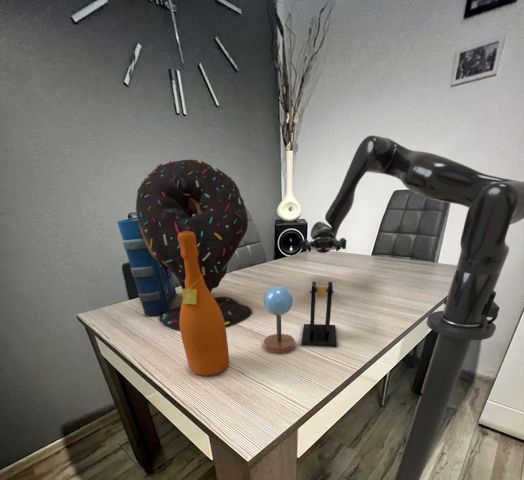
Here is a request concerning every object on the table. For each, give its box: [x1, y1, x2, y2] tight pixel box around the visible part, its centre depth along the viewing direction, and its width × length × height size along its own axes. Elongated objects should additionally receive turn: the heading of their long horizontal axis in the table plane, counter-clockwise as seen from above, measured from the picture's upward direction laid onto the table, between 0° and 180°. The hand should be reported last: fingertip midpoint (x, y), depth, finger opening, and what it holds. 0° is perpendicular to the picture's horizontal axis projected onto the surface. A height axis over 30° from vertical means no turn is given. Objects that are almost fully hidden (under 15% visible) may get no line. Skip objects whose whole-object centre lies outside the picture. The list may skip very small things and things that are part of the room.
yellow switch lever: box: [316, 285, 328, 297], centre depth 75 cm, size 14×6×2 cm, turn 169°
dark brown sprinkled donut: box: [135, 158, 252, 331], centre depth 85 cm, size 30×32×45 cm
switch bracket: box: [300, 281, 338, 348], centre depth 72 cm, size 11×9×15 cm
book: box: [116, 216, 177, 317], centre depth 98 cm, size 24×9×30 cm, turn 5°
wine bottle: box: [178, 231, 230, 377], centre depth 58 cm, size 10×10×30 cm
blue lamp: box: [263, 285, 296, 355], centre depth 68 cm, size 8×8×16 cm
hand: (323, 247), depth 85 cm, fingers open, 8 cm apart
